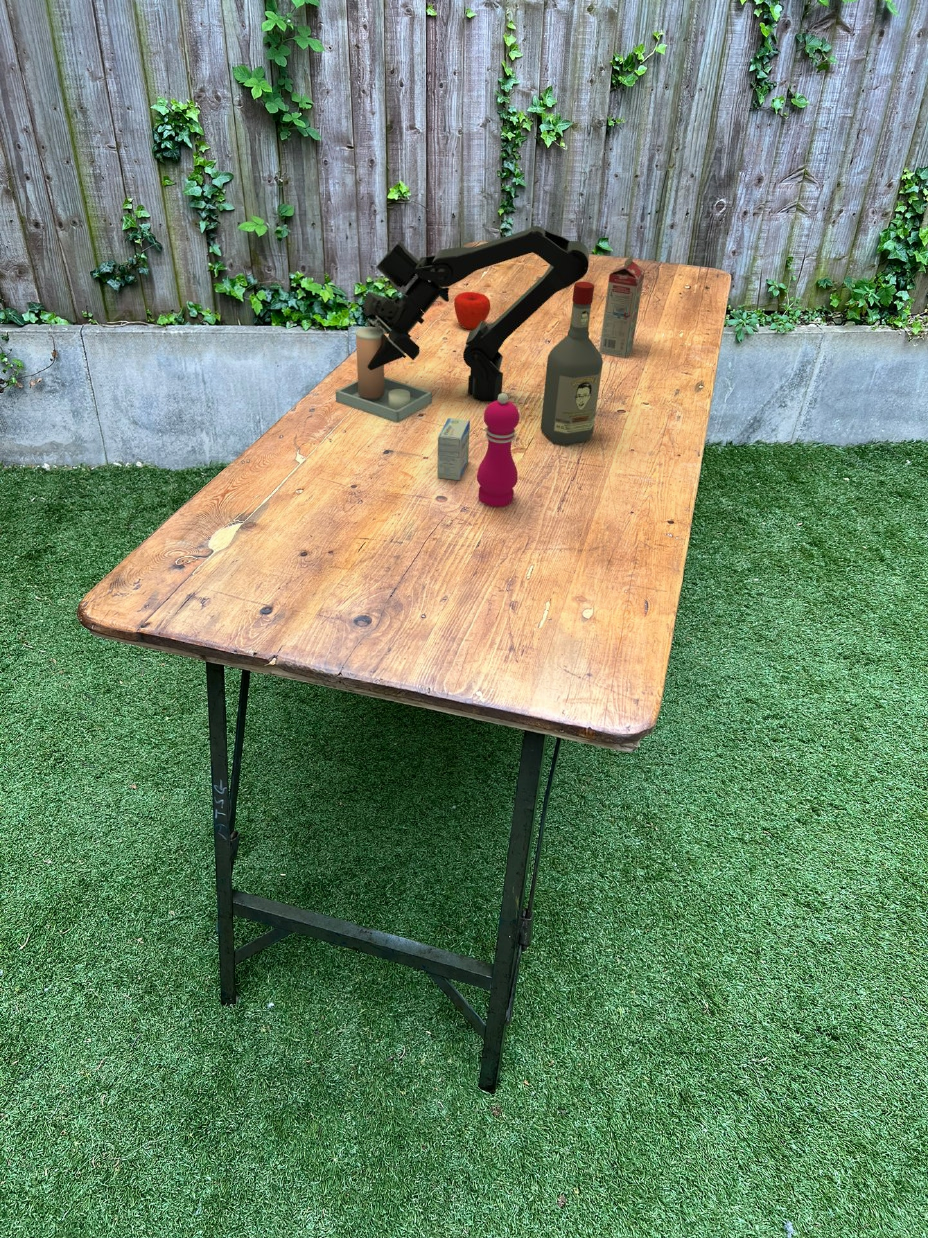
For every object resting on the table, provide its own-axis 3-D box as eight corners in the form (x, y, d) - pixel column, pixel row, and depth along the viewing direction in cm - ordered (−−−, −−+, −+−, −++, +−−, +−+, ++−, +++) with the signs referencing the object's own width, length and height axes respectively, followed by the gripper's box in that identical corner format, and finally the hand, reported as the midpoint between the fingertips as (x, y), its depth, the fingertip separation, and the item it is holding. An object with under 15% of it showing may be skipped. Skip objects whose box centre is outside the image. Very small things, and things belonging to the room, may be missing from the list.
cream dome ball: (414, 406, 191) (414, 392, 189) (401, 413, 188) (401, 399, 186) (397, 400, 193) (397, 387, 191) (384, 407, 190) (384, 394, 188)
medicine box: (460, 481, 168) (462, 438, 163) (436, 478, 169) (437, 435, 164) (468, 461, 175) (470, 419, 169) (445, 458, 175) (447, 416, 170)
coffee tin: (390, 393, 193) (389, 332, 185) (370, 400, 190) (368, 339, 182) (372, 384, 196) (370, 324, 188) (352, 392, 193) (349, 331, 185)
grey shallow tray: (431, 405, 193) (431, 392, 191) (397, 426, 185) (397, 412, 183) (371, 386, 200) (371, 372, 198) (336, 404, 192) (335, 391, 190)
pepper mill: (473, 488, 167) (479, 384, 154) (513, 488, 167) (522, 384, 155) (477, 509, 161) (483, 402, 149) (518, 508, 162) (527, 402, 149)
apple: (495, 325, 232) (497, 294, 227) (476, 335, 226) (478, 303, 221) (465, 317, 235) (466, 286, 231) (446, 327, 229) (447, 295, 225)
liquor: (535, 428, 187) (550, 279, 168) (575, 422, 190) (593, 274, 171) (556, 448, 180) (574, 295, 162) (596, 441, 183) (618, 290, 165)
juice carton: (598, 353, 220) (611, 258, 207) (606, 343, 225) (619, 251, 211) (625, 358, 218) (640, 263, 205) (632, 348, 223) (647, 255, 210)
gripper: (371, 263, 186) (322, 323, 189) (404, 293, 173) (351, 357, 176) (407, 298, 194) (359, 355, 197) (442, 329, 181) (390, 389, 184)
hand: (364, 363), depth 188 cm, fingers closed on coffee tin, 5 cm apart
